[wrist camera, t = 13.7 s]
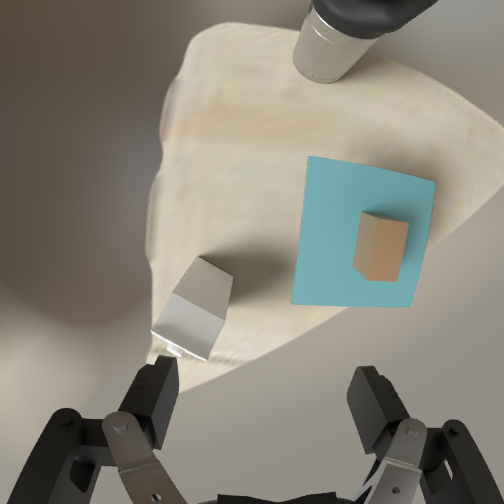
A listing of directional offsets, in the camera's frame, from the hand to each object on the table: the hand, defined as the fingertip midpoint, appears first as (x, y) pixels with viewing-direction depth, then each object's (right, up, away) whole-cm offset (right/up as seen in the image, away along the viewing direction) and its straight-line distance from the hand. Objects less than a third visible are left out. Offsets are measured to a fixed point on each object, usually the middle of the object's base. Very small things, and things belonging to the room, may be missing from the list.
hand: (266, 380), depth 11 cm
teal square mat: (+12, +7, +18) cm, 23 cm away
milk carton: (-9, 0, +36) cm, 37 cm away
